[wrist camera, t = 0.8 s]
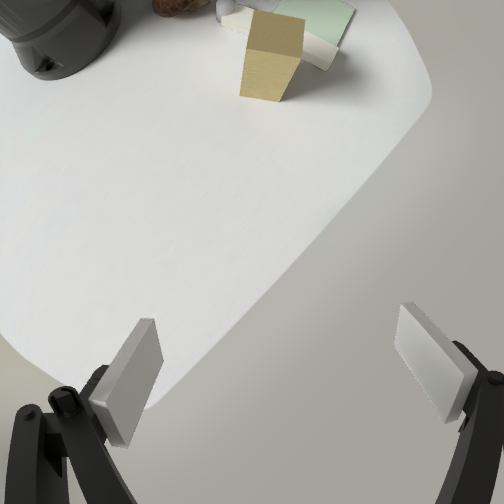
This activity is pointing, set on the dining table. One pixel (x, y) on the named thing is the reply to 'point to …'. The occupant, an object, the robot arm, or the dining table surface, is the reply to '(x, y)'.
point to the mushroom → (176, 6)
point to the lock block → (271, 55)
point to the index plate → (319, 16)
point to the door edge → (240, 22)
